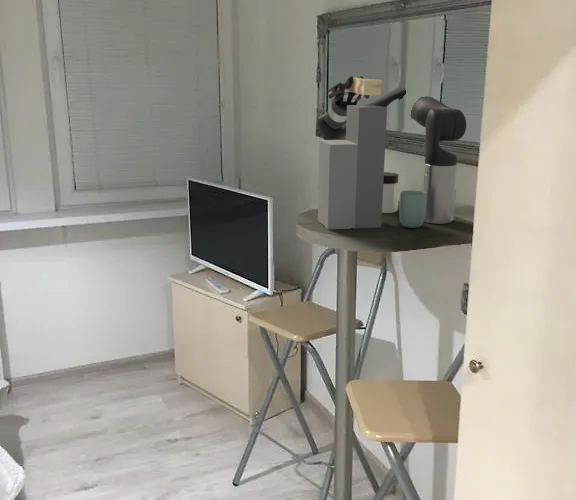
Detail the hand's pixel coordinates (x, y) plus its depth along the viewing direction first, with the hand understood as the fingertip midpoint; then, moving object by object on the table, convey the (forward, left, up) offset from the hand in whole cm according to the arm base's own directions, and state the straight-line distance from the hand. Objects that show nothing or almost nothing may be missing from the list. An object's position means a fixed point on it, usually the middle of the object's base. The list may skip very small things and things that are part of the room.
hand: (356, 79), depth 192 cm
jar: (-14, +1, -42) cm, 44 cm away
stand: (+8, +7, -41) cm, 43 cm away
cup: (-3, +21, -42) cm, 47 cm away
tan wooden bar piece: (+2, +3, -4) cm, 6 cm away
